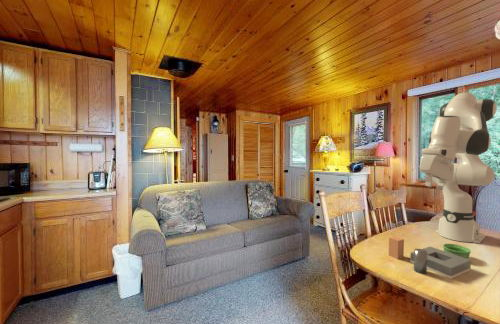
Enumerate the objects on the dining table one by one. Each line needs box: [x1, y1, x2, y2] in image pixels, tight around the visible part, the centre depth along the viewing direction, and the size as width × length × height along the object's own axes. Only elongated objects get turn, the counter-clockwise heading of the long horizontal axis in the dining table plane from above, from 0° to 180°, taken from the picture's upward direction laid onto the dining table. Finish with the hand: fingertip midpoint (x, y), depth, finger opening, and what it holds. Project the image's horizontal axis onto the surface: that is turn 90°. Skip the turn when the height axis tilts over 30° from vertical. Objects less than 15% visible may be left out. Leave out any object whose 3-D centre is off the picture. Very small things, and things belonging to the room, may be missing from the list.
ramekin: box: [442, 243, 472, 260], centre depth 101 cm, size 9×9×4 cm
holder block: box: [409, 246, 472, 280], centre depth 94 cm, size 14×14×4 cm
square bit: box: [388, 235, 405, 260], centre depth 102 cm, size 4×4×8 cm
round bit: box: [413, 248, 428, 275], centre depth 90 cm, size 4×4×8 cm
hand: (433, 188), depth 93 cm, fingers open, 8 cm apart
